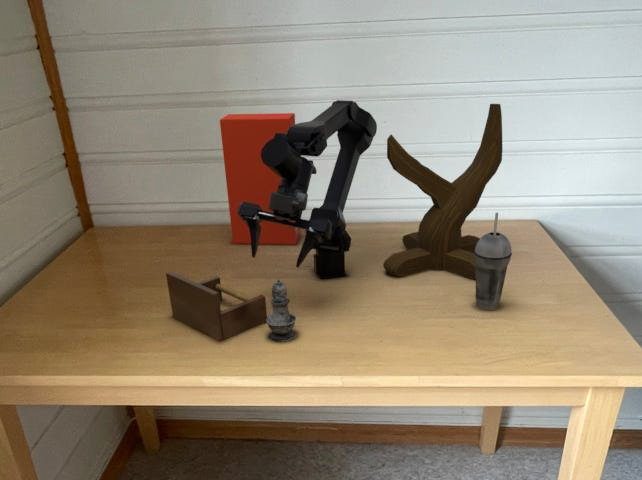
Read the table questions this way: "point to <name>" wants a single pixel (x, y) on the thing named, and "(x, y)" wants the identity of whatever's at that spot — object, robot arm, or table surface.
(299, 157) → the robot arm
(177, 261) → the table surface
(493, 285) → the beverage cup
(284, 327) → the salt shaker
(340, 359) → the table surface
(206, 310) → the spice rack
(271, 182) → the file binder
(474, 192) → the wooden stand
